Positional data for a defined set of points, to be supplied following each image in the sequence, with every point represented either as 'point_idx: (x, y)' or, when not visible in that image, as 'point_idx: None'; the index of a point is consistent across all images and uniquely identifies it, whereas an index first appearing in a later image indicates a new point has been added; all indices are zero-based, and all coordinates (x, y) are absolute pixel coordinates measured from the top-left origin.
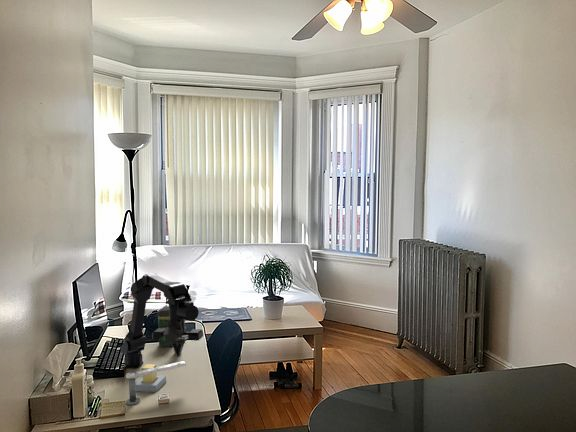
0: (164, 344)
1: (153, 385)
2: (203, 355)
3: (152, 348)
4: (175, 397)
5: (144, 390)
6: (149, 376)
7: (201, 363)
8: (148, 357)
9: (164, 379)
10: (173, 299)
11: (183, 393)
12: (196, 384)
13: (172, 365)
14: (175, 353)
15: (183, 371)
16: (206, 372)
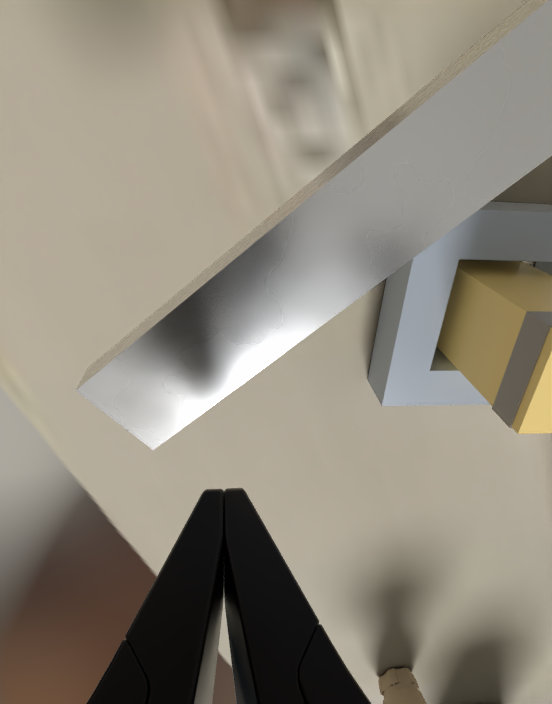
0: None
1: None
2: None
3: (528, 690)
4: (180, 75)
5: (505, 204)
6: (526, 295)
7: (224, 614)
8: (536, 625)
9: (381, 370)
10: None
11: (141, 177)
12: None
13: (258, 264)
14: (406, 672)
15: (296, 522)
16: (135, 528)
